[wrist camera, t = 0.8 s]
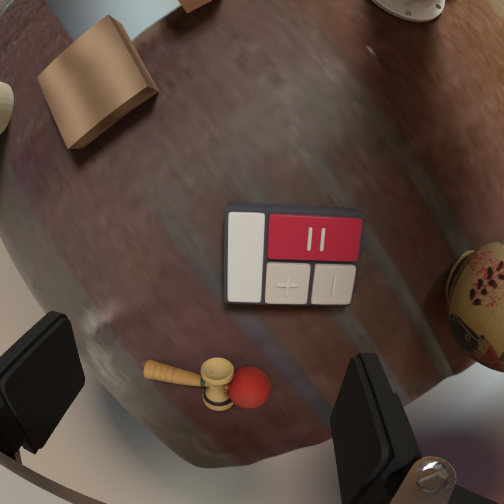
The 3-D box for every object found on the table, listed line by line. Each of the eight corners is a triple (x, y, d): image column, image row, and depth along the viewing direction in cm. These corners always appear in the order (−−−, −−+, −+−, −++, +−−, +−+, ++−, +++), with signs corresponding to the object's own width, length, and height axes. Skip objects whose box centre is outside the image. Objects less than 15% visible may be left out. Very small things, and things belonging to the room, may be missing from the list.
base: (122, 24, 28) (108, 14, 25) (160, 92, 31) (147, 86, 28) (54, 80, 31) (37, 77, 27) (85, 148, 34) (67, 149, 30)
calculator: (354, 309, 34) (223, 307, 34) (344, 293, 38) (226, 290, 38) (368, 215, 31) (223, 208, 31) (356, 207, 35) (227, 201, 35)
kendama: (159, 380, 46) (271, 401, 42) (141, 399, 39) (264, 427, 36) (156, 337, 45) (275, 357, 41) (136, 354, 38) (269, 380, 35)
